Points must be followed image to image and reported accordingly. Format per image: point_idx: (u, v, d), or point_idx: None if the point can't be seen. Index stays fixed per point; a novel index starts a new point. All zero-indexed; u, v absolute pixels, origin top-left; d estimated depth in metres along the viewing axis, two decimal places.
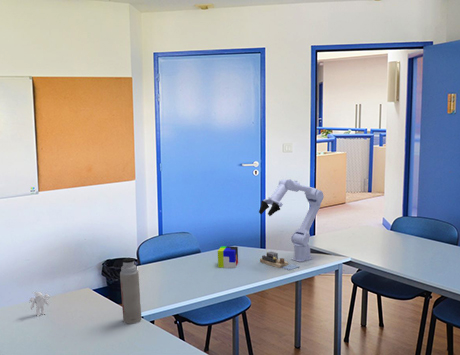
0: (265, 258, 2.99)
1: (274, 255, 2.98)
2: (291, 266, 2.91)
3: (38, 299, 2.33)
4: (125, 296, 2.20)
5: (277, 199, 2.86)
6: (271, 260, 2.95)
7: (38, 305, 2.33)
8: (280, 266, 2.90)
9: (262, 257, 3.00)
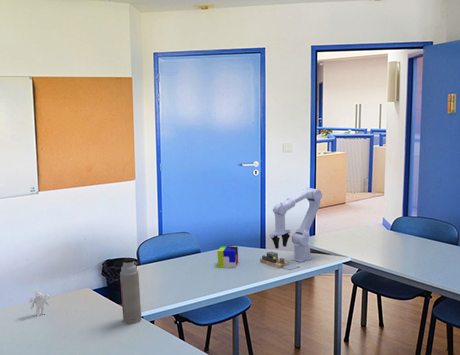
0: (265, 258, 2.99)
1: (274, 255, 2.98)
2: (291, 266, 2.91)
3: (38, 299, 2.33)
4: (125, 296, 2.20)
5: (276, 230, 2.94)
6: (271, 260, 2.95)
7: (38, 305, 2.33)
8: (280, 266, 2.90)
9: (262, 257, 3.00)
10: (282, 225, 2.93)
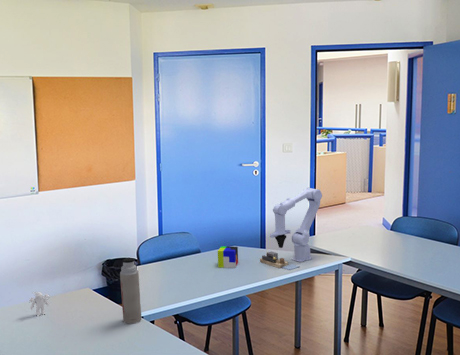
0: (265, 258, 2.99)
1: (274, 255, 2.98)
2: (291, 266, 2.91)
3: (38, 299, 2.33)
4: (125, 296, 2.20)
5: (276, 230, 2.94)
6: (271, 260, 2.95)
7: (38, 305, 2.33)
8: (280, 266, 2.90)
9: (262, 257, 3.00)
10: (282, 225, 2.93)
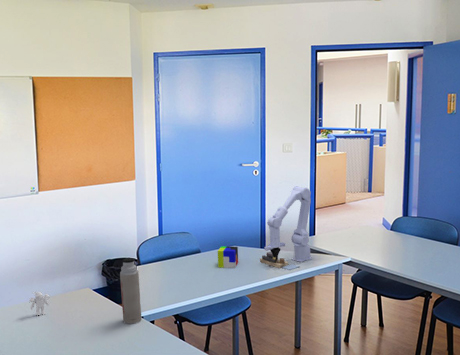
0: (265, 258, 2.99)
1: None
2: (291, 266, 2.91)
3: (38, 299, 2.33)
4: (125, 296, 2.20)
5: (270, 242, 2.93)
6: (271, 260, 2.95)
7: (38, 305, 2.33)
8: (280, 266, 2.90)
9: (262, 257, 3.00)
10: (277, 238, 2.91)
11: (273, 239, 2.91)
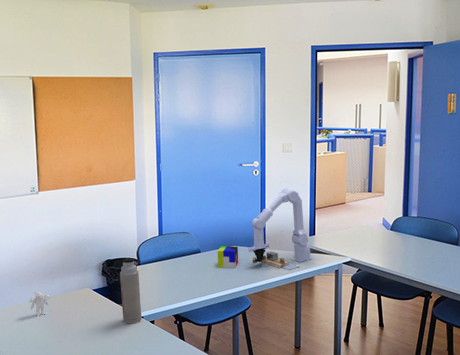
0: None
1: (274, 255, 2.98)
2: (291, 266, 2.91)
3: (38, 299, 2.33)
4: (125, 296, 2.20)
5: (254, 244, 2.92)
6: None
7: (38, 305, 2.33)
8: (280, 266, 2.90)
9: None
10: (260, 239, 2.90)
11: (257, 240, 2.90)
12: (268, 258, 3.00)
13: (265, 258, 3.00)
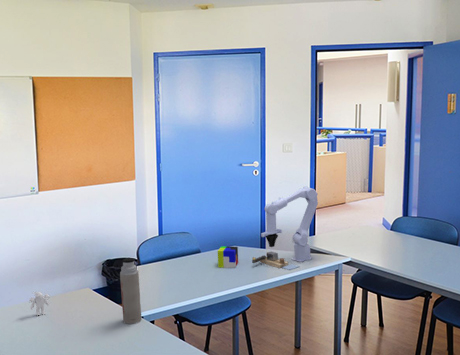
0: None
1: (274, 255, 2.98)
2: (291, 266, 2.91)
3: (38, 299, 2.33)
4: (125, 296, 2.20)
5: (267, 229, 2.97)
6: None
7: (38, 305, 2.33)
8: (280, 266, 2.90)
9: None
10: (273, 224, 2.95)
11: (269, 225, 2.95)
12: (268, 258, 3.00)
13: (265, 258, 3.00)
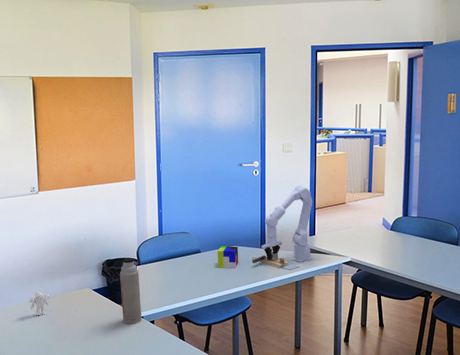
0: None
1: (274, 255, 2.98)
2: (291, 266, 2.91)
3: (38, 299, 2.33)
4: (125, 296, 2.20)
5: (267, 241, 2.98)
6: None
7: (38, 305, 2.33)
8: (280, 266, 2.90)
9: None
10: (273, 237, 2.96)
11: (270, 238, 2.96)
12: None
13: (265, 258, 3.00)
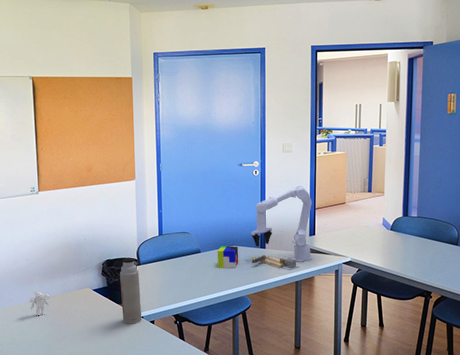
0: None
1: (292, 262, 2.88)
2: None
3: (38, 299, 2.33)
4: (125, 296, 2.20)
5: (257, 227, 3.02)
6: None
7: (38, 305, 2.33)
8: (280, 266, 2.90)
9: None
10: (263, 223, 3.00)
11: (260, 224, 3.00)
12: (286, 265, 2.90)
13: (265, 258, 3.00)
